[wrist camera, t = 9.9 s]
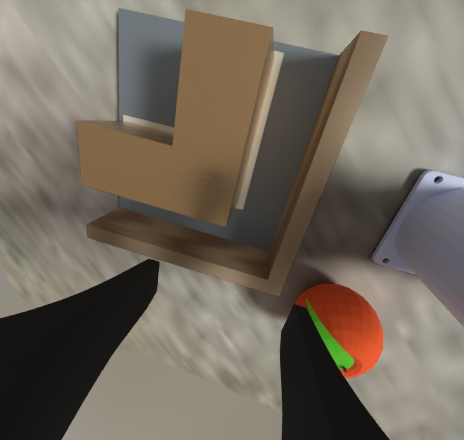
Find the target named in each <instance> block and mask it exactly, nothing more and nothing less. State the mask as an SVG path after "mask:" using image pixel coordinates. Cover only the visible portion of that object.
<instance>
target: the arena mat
mask: <svg viewBox="0 0 464 440" xmlns="http://www.w3.org/2000/svg"><path fill="white" fill-rule="evenodd" d="M184 23H185V22H181V21H176V20H172V19H167V18H162V17H158V16H153V15H149V14H144V13H139V12H135V11H130V10H125V9H121V8H119V121H124V122H132V123H136V124H140V125H144V126H148V127H152V128H155V129H159V130H163V131H167V132H171V133H174V125H175V115H176V105H177V95H178V85H179V74H180V64H181V54H182V44H183V34H184ZM338 57H339V55H335V54H330V53H325V52H321V51H316V50H312V49H307V48H302V47H298V46H293V45H288V44H284V43H279V42H274V62H273V66H272V70H271V74H270V78H269V82H268V86H267V90H266V94H265V98H264V102H263V106H262V110H261V114H260V118H259V122H258V126H257V130H256V134H255V138H254V142H253V146H252V150H251V154H250V158H249V162H248V166H247V170H246V174H245V178H244V182H243V186H242V190H241V194H240V198H239V202H238V204H237V206H236V208H235V210H234V212H233V214H232V216H231V218H230V220H229V221H228V223H227V225H226V227H224V226H221V225H217V224H214V223H211V222H207V221H204V220H200V219H197V218H193V217H190V216H186V215H183V214H180V213H176V212H173V211H169V210H166V209H162V208H159V207H155V206H152V205H149V204H145V203H142V202H138V201H135V200H131V199H128V198H124V197H121V196H119V208H123V209H126V210H129V211H133V212H136V213H140V214H143V215H146V216H150V217H153V218H157V219H160V220H163V221H167V222H170V223H174V224H177V225H180V226H184V227H187V228H191V229H194V230H197V231H201V232H204V233H208V234H211V235H214V236H218V237H221V238H225V239H228V240H231V241H235V242H238V243H242V244H245V245H248V246H252V247H255V248H259V249H262V250H265V251H269V252H270V249H271V246H272V244H273V241H274V238H275V235H276V232H277V230H278V227H279V224H280V221H281V218H282V215H283V213H284V210H285V207H286V204H287V201H288V198H289V196H290V193H291V190H292V187H293V184H294V181H295V179H296V176H297V173H298V170H299V167H300V165H301V162H302V159H303V156H304V153H305V150H306V148H307V145H308V142H309V139H310V136H311V133H312V131H313V128H314V125H315V122H316V119H317V117H318V114H319V111H320V108H321V105H322V102H323V100H324V97H325V94H326V91H327V88H328V85H329V83H330V80H331V77H332V74H333V71H334V68H335V66H336V63H337V60H338Z"/></svg>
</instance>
